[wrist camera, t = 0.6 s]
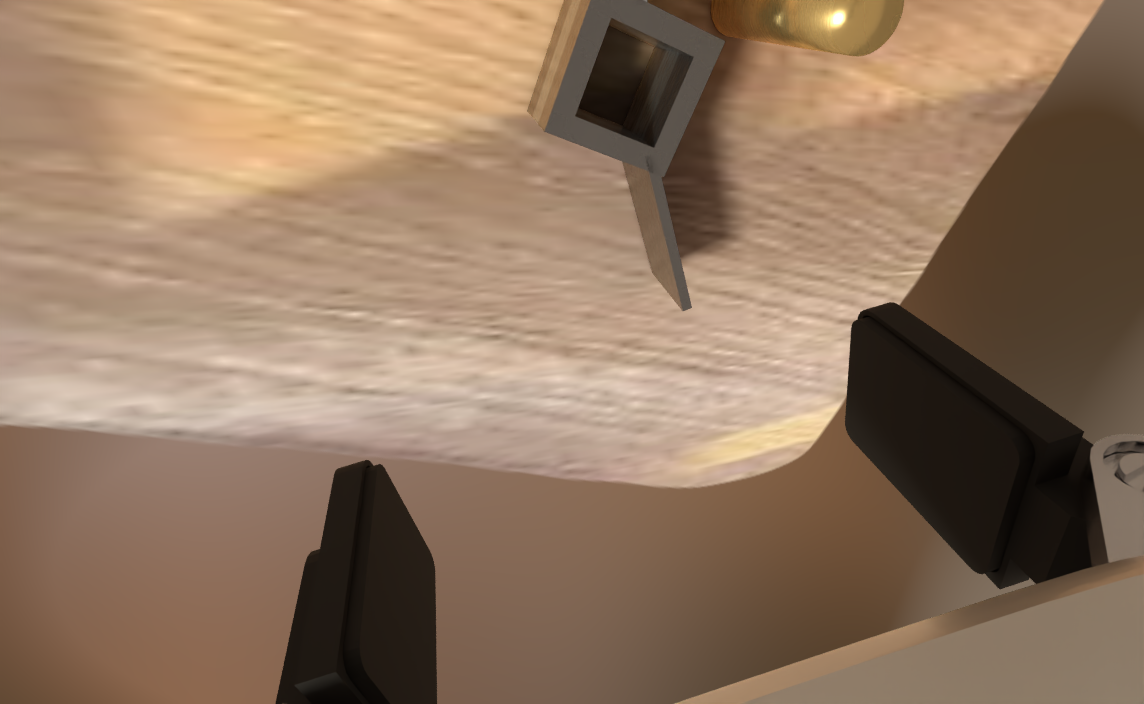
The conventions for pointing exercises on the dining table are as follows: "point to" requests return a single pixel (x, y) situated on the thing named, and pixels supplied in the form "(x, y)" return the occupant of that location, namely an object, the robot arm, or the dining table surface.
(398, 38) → the dining table surface
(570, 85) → the grey winged square socket
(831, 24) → the pin
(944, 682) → the robot arm
